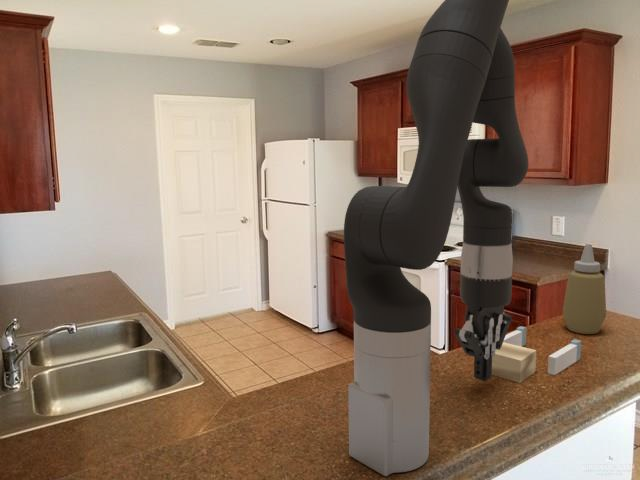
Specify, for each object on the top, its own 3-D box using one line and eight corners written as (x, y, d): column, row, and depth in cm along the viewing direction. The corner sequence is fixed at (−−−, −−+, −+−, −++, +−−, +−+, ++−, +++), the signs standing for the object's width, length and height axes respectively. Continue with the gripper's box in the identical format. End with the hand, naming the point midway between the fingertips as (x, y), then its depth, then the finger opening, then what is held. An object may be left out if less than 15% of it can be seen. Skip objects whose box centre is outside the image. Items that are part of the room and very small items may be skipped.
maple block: (520, 384, 85) (521, 360, 84) (485, 373, 89) (486, 351, 88) (535, 372, 89) (536, 350, 88) (501, 363, 93) (502, 341, 92)
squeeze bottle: (594, 339, 103) (600, 250, 100) (554, 329, 109) (559, 244, 106) (611, 330, 108) (618, 244, 105) (572, 321, 114) (577, 240, 111)
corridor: (554, 375, 87) (555, 355, 87) (492, 356, 96) (493, 338, 95) (580, 359, 94) (581, 340, 93) (519, 342, 102) (520, 326, 101)
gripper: (484, 283, 73) (480, 400, 76) (530, 268, 81) (526, 373, 84) (439, 275, 78) (437, 383, 81) (487, 261, 87) (484, 360, 90)
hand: (482, 378), depth 83 cm, fingers closed
